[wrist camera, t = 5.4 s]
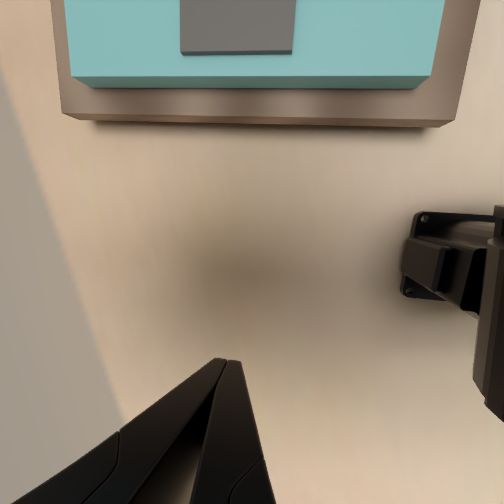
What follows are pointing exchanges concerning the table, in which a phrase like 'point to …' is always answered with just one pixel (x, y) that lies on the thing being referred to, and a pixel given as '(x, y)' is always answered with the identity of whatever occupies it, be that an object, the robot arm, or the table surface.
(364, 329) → the table surface
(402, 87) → the plate
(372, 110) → the base
